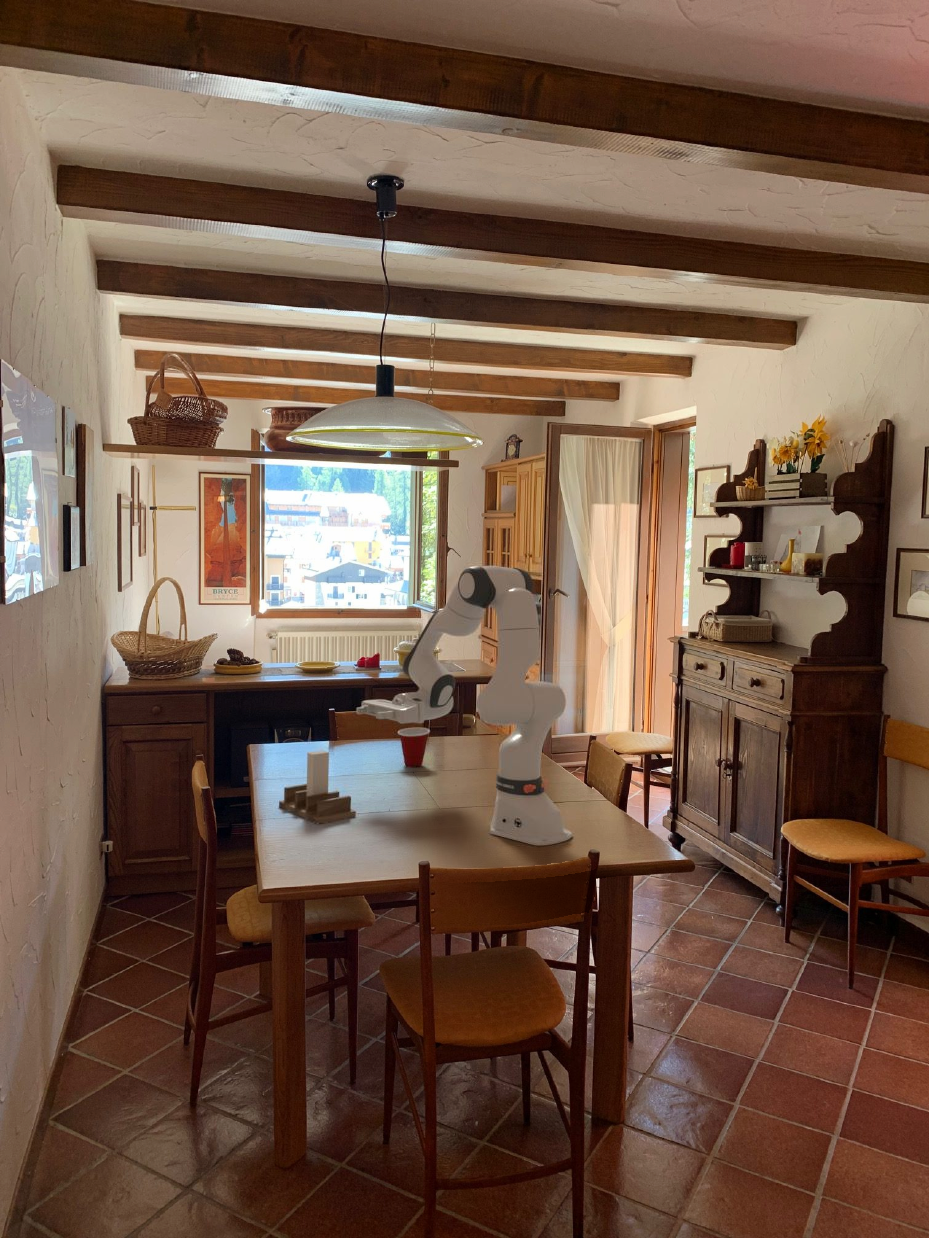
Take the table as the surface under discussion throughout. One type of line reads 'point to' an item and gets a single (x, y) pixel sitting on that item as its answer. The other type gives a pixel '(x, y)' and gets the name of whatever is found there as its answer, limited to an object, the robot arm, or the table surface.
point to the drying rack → (316, 804)
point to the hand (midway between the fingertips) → (367, 713)
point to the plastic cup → (413, 745)
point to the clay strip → (317, 772)
